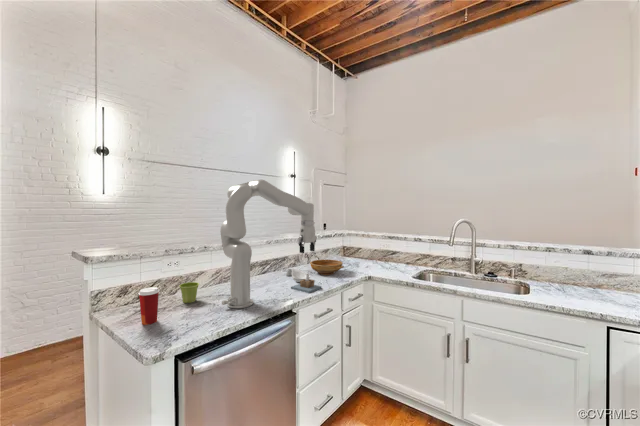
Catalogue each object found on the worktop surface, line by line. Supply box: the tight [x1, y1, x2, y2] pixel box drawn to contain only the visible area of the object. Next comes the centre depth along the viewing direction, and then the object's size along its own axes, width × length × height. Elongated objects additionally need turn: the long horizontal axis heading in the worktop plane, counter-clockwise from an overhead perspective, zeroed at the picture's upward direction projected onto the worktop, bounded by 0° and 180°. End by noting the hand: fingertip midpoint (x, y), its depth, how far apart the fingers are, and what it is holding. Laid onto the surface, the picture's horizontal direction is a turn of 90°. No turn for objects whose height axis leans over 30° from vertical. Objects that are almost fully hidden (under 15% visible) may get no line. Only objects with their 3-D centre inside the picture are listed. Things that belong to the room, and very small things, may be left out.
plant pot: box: [179, 281, 200, 304], centre depth 145 cm, size 9×9×9 cm
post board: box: [290, 272, 322, 294], centre depth 168 cm, size 12×14×9 cm
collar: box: [299, 278, 315, 288], centre depth 169 cm, size 6×6×4 cm
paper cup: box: [138, 286, 160, 326], centre depth 119 cm, size 8×8×14 cm
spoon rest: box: [285, 266, 311, 283], centre depth 189 cm, size 24×12×7 cm, turn 34°
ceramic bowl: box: [309, 259, 345, 276], centre depth 207 cm, size 30×24×8 cm
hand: (307, 251), depth 168 cm, fingers open, 9 cm apart
